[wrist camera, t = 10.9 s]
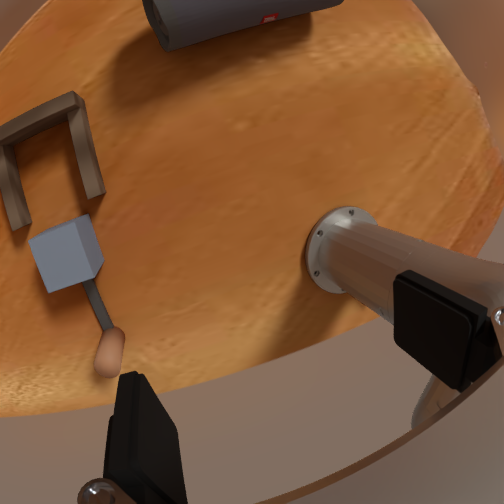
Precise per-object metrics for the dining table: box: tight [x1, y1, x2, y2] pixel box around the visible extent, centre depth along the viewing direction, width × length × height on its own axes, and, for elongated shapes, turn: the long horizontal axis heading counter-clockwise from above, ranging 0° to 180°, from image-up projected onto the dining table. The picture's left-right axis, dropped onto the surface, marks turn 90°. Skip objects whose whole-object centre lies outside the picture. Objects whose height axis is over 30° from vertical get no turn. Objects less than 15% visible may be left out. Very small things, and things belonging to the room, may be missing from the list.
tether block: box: [28, 213, 125, 378], centre depth 31 cm, size 18×6×7 cm, turn 13°
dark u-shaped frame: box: [0, 91, 106, 231], centre depth 26 cm, size 12×12×5 cm
